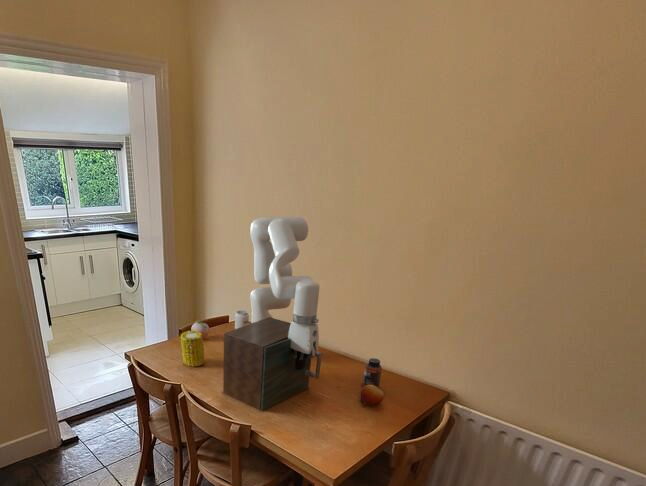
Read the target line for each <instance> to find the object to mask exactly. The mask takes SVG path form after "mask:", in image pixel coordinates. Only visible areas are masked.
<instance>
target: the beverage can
mask: <svg viewBox="0 0 646 486" xmlns="http://www.w3.org/2000/svg"><path fill="white" fill-rule="evenodd" d="M249 318H250V316H249V312H248V311H246V310H238V311H237V310H236V313H235V315H234V330H235V329H238V328H240V327H243V326H246V325H249V320H250V319H249Z"/></svg>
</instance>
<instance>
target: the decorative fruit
mask: <svg viewBox="0 0 646 486" xmlns="http://www.w3.org/2000/svg"><path fill="white" fill-rule="evenodd" d="M191 330H193V331H197V332H199V333H201V334H202V337H203V339H205V338H207V336H208V335H209V334H210V330H211V329H210V326H209V325H208V324H207V323H205V322H202V321H201V319H200V320H195V321H194V323H193V324H192V326H191V329H190V331H191Z"/></svg>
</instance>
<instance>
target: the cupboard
mask: <svg viewBox="0 0 646 486" xmlns="http://www.w3.org/2000/svg"><path fill="white" fill-rule="evenodd" d="M290 325H291V322H288V321H286V320H282V319H278V318H275V317H272V318H271V317H269V318H266V319H263V320H260V321H257V322H254V323H252V324H251V323H248V325H246V326H243V327H240V328H238V329H235V328H234V329H232V330H230V331H226V332H224V333H223V376H222V377H223V378H222V381H223V383H222V384H223V385H222V386H223V387H222V388H223V389H222V393H223V394H225V395H227V396H229V397H231V398H233V399H236V400H238V401H239V402H241V403H244V404H246V405H249V406H250V407H253V408H255V409H257V410H259V411H262V410H261V397H262V380H263V362H264V347H267V346H270V345H272V344H275V343H278V342H281V341H283V340H286V339H288V334H289V328H290Z"/></svg>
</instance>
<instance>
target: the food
mask: <svg viewBox="0 0 646 486" xmlns="http://www.w3.org/2000/svg"><path fill="white" fill-rule="evenodd" d="M203 339H204V338H203V337H202V334H201V333H199V332H197V331H193V330H191V329H190V330H187V331H184V332H182V333H181V334H180V346H181V352H182V359H183V360H182V361H183V364H185V365H186V366H189V367H199V366H202V365H203V364H204V363H205V359H206V358H205V348H204V347H205V346H204V341H203Z"/></svg>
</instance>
